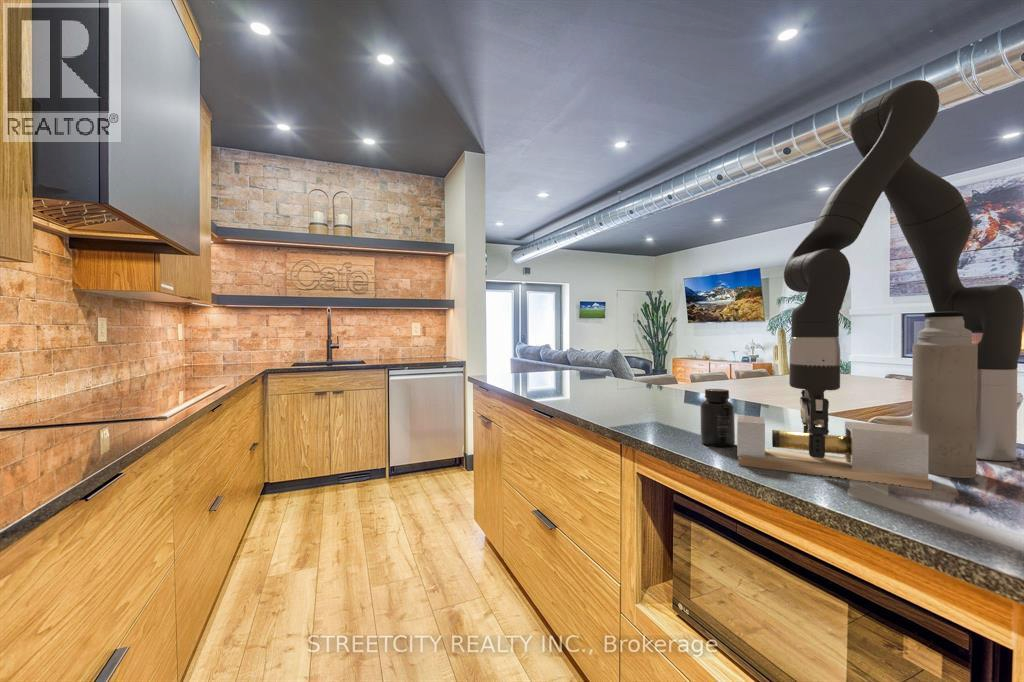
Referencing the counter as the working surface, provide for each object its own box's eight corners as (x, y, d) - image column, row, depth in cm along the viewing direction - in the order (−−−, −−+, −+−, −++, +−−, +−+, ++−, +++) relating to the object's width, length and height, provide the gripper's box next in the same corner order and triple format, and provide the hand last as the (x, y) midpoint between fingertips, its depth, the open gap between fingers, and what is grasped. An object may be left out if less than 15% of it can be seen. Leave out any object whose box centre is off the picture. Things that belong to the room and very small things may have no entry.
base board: (739, 451, 88) (739, 446, 88) (910, 471, 75) (910, 464, 75) (738, 465, 79) (738, 458, 79) (931, 489, 66) (931, 482, 66)
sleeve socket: (738, 447, 86) (738, 413, 86) (914, 466, 73) (914, 426, 73) (737, 456, 81) (737, 419, 80) (928, 478, 67) (928, 435, 67)
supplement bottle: (736, 442, 95) (736, 388, 95) (733, 449, 90) (733, 392, 89) (702, 438, 99) (702, 387, 99) (698, 445, 93) (698, 390, 93)
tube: (879, 455, 74) (879, 437, 74) (884, 460, 71) (884, 441, 71) (772, 444, 82) (772, 428, 82) (772, 448, 79) (772, 431, 79)
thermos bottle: (951, 464, 78) (952, 312, 78) (990, 479, 70) (992, 310, 70) (900, 462, 80) (901, 313, 79) (933, 476, 72) (935, 311, 71)
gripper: (848, 365, 69) (847, 464, 69) (833, 360, 81) (832, 444, 82) (792, 364, 73) (792, 458, 73) (786, 359, 85) (786, 440, 85)
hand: (813, 451), depth 77 cm, fingers open, 8 cm apart
